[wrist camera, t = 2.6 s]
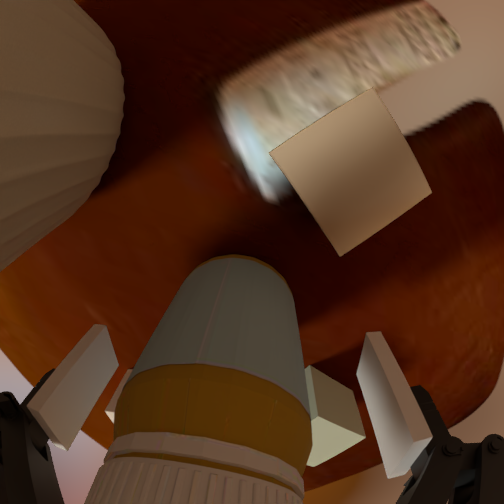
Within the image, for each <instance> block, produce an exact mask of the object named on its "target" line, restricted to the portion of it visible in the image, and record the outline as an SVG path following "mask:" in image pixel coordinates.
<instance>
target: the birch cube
mask: <svg viewBox="0 0 504 504" xmlns="http://www.w3.org/2000/svg"><path fill="white" fill-rule="evenodd" d="M269 154H270V156H271V157H272V159H273V160H274V161H275V163H276V164H277V165H278V167H279V168H280V170H281V171H282V172H283V174H284V175H285V177H286V178H287V179H288V181H289V182H290V184H291V185H292V186H293V188H294V189H295V191H296V192H297V194H298V195H299V197H300V198H301V199H302V201H303V202H304V204H305V205H306V207H307V208H308V210H309V211H310V213H311V214H312V216H313V217H314V219H315V220H316V222H317V223H318V225H319V226H320V228H321V229H322V231H323V232H324V234H325V235H326V237H327V238H328V240H329V241H330V243H331V244H332V246H333V247H334V249H335V250H336V252H337V253H338V255H339V256H340V257H341V256H342V255H344V254H345V253H347V252H348V251H350V250H351V249H353V248H354V247H356V246H357V245H359V244H360V243H362V242H363V241H365V240H366V239H367V238H369V237H370V236H372V235H373V234H375V233H376V232H378V231H379V230H381V229H382V228H383V227H385V226H386V225H388V224H389V223H391V222H392V221H393V220H395V219H396V218H398V217H399V216H400V215H402V214H403V213H405V212H406V211H407V210H409V209H410V208H412V207H413V206H414V205H416V204H417V203H419V202H420V201H421V200H423V199H424V198H425V197H427V196H428V195H429V194H431V193H432V191H431V189H430V187H429V185H428V183H427V180H426V178H425V176H424V174H423V172H422V170H421V168H420V166H419V164H418V162H417V160H416V158H415V156H414V154H413V152H412V151H411V149H410V147H409V145H408V143H407V141H406V140H405V138H404V136H403V134H402V133H401V131H400V129H399V128H398V126H397V124H396V122H395V121H394V119H393V117H392V116H391V114H390V113H389V111H388V110H387V108H386V106H385V105H384V104H383V102H382V100H381V99H380V97H379V96H378V94H377V93H376V91H375V90H374V88H373V87H372V88H371V89H369V90H367V91H365V92H364V93H362V94H360V95H358V96H357V97H355V98H353V99H351V100H350V101H348V102H346V103H345V104H343V105H341V106H340V107H338V108H336V109H335V110H333V111H332V112H330V113H328V114H327V115H325V116H324V117H322V118H320V119H319V120H317V121H316V122H314V123H313V124H311V125H309V126H308V127H306V128H305V129H303V130H302V131H300V132H299V133H297V134H296V135H294V136H293V137H291V138H290V139H288V140H287V141H285V142H284V143H282V144H281V145H279V146H278V147H276V148H275V149H273V150H272V151H271V152H269Z"/></svg>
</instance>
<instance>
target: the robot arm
mask: <svg viewBox="0 0 504 504" xmlns="http://www.w3.org/2000/svg"><path fill="white" fill-rule="evenodd" d="M118 366H119V364H118V361H117V358H116V355H115V352H114V349H113V346H112V343H111V340H110V337H109V333H108V330H107V327H106V325H99V324H94V325H93V327H92V328H91V329H90V330H89V331H88V332H87V333H86V334H85V336H84V337H83V338H82V339H81V340H80V341H79V342H78V344H77V345H76V346H75V347H74V348H73V349H72V350H71V352H70V353H69V354H68V355H67V356H66V358H65V359H64V360H63V361H62V362H61V363H60V365H59V366H58V367H57V368H56V369H52V370H50V371H49V372H47V373H46V374H45V375H44V376H43V377H42V378H41V380H40V382H38V383H37V384H36V387H34V388H33V389H32V391H31V392H30V393H29V394H28V396H27V397H26V398H25V399H24V401H23V402H22V403H21V404H19V403H18V401H17V400H16V398H15V397H14V395H13V394H12V393H11V392H2V393H0V504H64V501H63V498H62V494H61V491H60V488H59V484H58V481H57V477H56V473H55V470H54V465H53V462H52V457H51V452H50V447H49V445H48V444H47V441H48V439H50V440H51V441H52V443H53V444H54V445H55V446H56V447H59V448H61V449H63V450H65V451H68V450H69V448H70V446H71V444H72V442H73V441H74V439H75V437H76V435H77V434H78V432H79V430H80V428H81V427H82V425H83V423H84V422H85V420H86V418H87V416H88V415H89V413H90V411H91V410H92V408H93V406H94V405H95V403H96V401H97V400H98V398H99V396H100V395H101V393H102V392H103V390H104V388H105V387H106V385H107V383H108V382H109V380H110V379H111V377H112V375H113V374H114V372H115V371H116V369H117V367H118ZM356 375H357V378H358V381H359V384H360V387H361V390H362V393H363V396H364V399H365V402H366V405H367V409H368V412H369V415H370V418H371V421H372V425H373V428H374V431H375V435H376V438H377V442H378V445H379V449H380V452H381V456H382V459H383V463H384V467H385V470H386V474H387V477H388V478H393V477H397V476H401V475H405V474H406V473H407V471H408V470H409V469H410V468H411V470H412V473H413V475H412V476H411V477H410V478H409V480H408V481H407V482H406V483H405V484H404V486H406V487H405V489H404V490H403V492H402V494H401V495H400V497H399V499H398V500H397V502H396V504H446V503H447V501H448V504H504V438H503V437H501V436H500V435H497V434H491V435H488V436H487V437H485V439H484V440H483V441H482V442H481V443H463V442H462V441H461V440H460V439H459V438H457V437H453V436H451V435H450V434H449V432H448V430H447V428H446V426H445V424H444V422H443V420H442V418H441V416H440V414H439V412H438V410H436V406H435V404H434V403H433V400H432V398H431V396H430V395H429V393H428V392H427V391H426V390H425V389H424V388H423V387H422V386H420V385H419V386H414V387H409V385H408V383H407V381H406V379H405V377H404V375H403V373H402V371H401V369H400V367H399V365H398V363H397V361H396V359H395V357H394V355H393V354H392V352H391V350H390V348H389V346H388V344H387V342H386V341H385V339H384V337H383V335H382V333H381V331H379V332H366V336H365V340H364V345H363V349H362V354H361V358H360V362H359V366H358V370H357V374H356ZM448 499H449V500H448Z"/></svg>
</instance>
